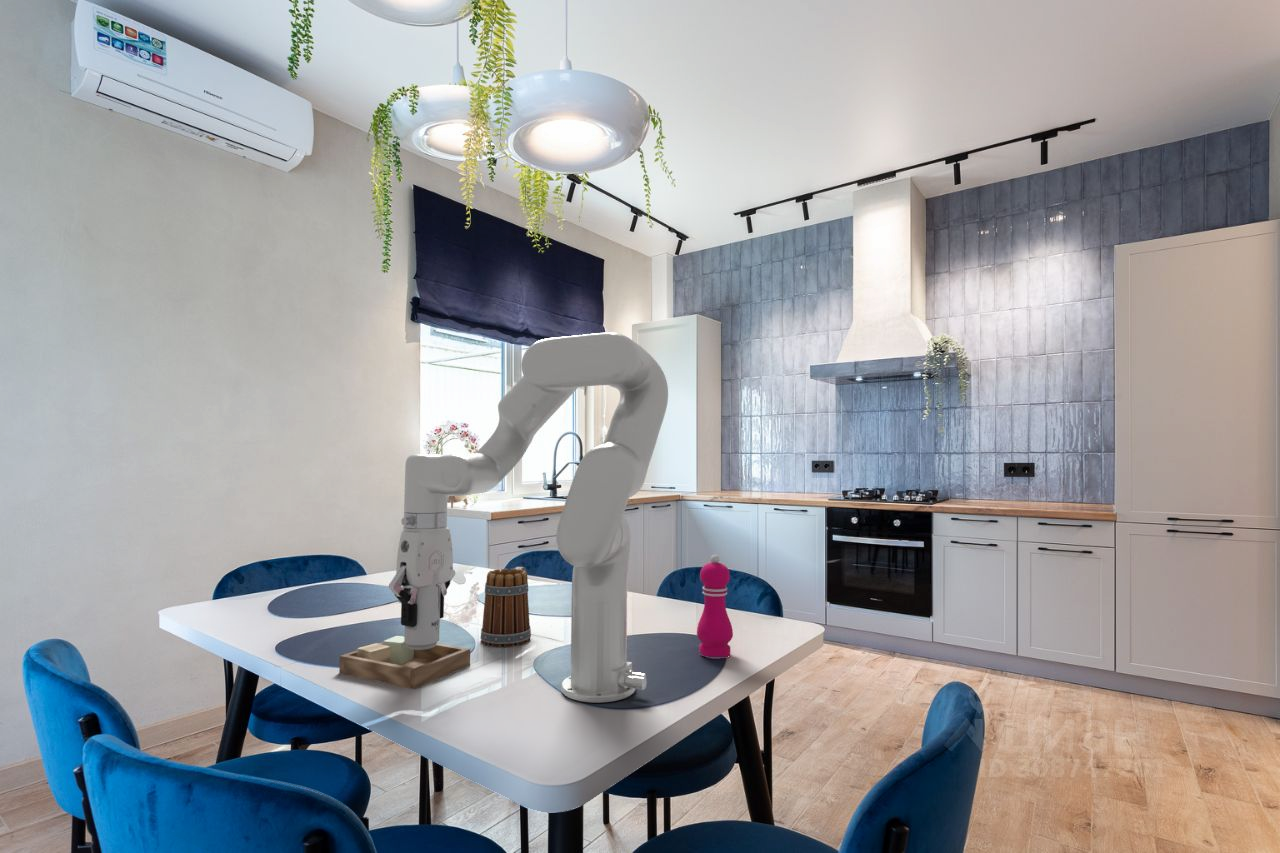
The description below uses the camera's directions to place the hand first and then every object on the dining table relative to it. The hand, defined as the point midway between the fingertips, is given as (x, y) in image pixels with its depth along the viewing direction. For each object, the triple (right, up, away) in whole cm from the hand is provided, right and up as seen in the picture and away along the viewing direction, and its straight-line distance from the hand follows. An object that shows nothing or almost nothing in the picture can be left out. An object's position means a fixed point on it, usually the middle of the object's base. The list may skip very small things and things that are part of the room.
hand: (422, 620), depth 120 cm
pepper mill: (+55, -11, +13) cm, 57 cm away
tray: (-3, -10, +1) cm, 11 cm away
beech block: (-9, -9, +1) cm, 13 cm away
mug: (+11, -11, +23) cm, 28 cm away
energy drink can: (0, -5, 0) cm, 5 cm away
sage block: (-7, -9, +6) cm, 13 cm away
